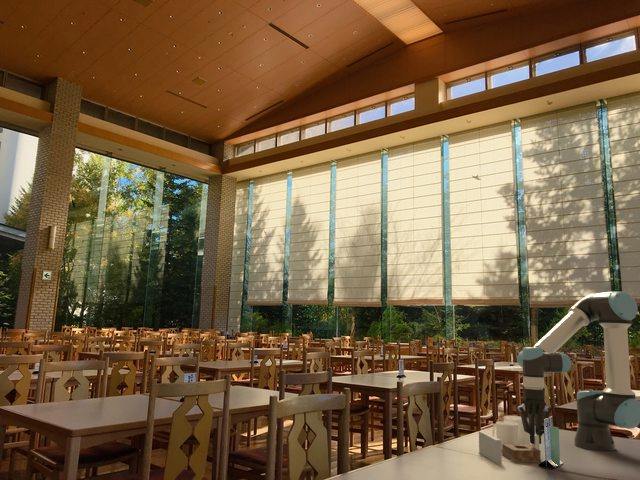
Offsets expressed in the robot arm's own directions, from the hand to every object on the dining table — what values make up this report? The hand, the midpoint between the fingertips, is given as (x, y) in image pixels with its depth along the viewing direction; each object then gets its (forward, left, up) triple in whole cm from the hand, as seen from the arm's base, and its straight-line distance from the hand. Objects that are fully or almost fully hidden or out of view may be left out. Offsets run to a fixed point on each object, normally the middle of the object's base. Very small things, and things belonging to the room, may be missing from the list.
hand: (535, 452), depth 192 cm
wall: (+18, 0, -2) cm, 18 cm away
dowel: (-3, +9, -2) cm, 10 cm away
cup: (+5, -16, -2) cm, 17 cm away
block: (+6, 0, -2) cm, 6 cm away
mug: (-5, -26, -2) cm, 27 cm away
